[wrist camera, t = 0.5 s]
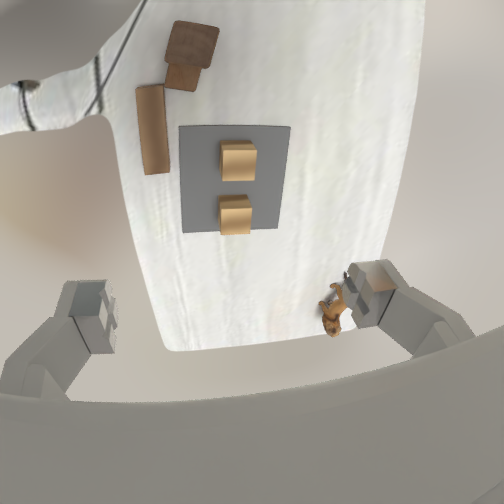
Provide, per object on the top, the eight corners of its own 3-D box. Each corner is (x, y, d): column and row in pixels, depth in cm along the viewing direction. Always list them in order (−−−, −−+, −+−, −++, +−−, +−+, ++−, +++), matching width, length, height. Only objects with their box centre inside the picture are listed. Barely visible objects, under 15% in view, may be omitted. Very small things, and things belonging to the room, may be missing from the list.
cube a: (220, 140, 49) (223, 150, 45) (250, 140, 50) (256, 150, 46) (219, 168, 52) (222, 181, 48) (248, 168, 53) (254, 180, 49)
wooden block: (194, 88, 43) (198, 112, 29) (165, 84, 41) (154, 105, 28) (209, 34, 38) (221, 27, 24) (179, 29, 36) (174, 19, 23)
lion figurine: (329, 313, 82) (341, 339, 75) (312, 313, 80) (323, 340, 73) (353, 271, 74) (369, 297, 67) (334, 270, 72) (350, 297, 65)
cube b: (218, 195, 55) (221, 209, 51) (246, 194, 56) (252, 208, 52) (217, 219, 58) (220, 235, 54) (245, 218, 59) (250, 233, 55)
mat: (179, 126, 46) (179, 126, 46) (290, 126, 50) (290, 127, 49) (182, 231, 58) (182, 233, 58) (277, 227, 62) (277, 228, 61)
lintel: (146, 168, 50) (144, 175, 47) (138, 86, 41) (135, 89, 39) (170, 165, 50) (169, 172, 48) (164, 83, 42) (162, 85, 39)
